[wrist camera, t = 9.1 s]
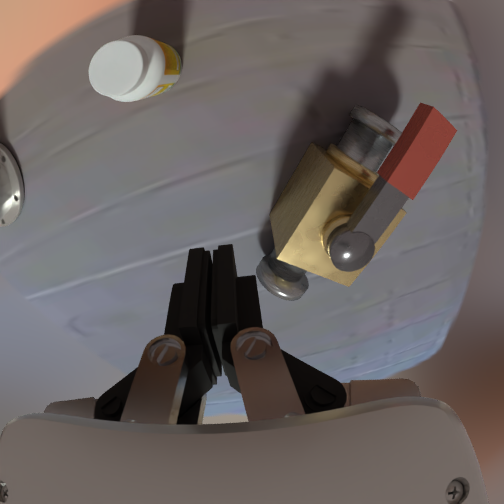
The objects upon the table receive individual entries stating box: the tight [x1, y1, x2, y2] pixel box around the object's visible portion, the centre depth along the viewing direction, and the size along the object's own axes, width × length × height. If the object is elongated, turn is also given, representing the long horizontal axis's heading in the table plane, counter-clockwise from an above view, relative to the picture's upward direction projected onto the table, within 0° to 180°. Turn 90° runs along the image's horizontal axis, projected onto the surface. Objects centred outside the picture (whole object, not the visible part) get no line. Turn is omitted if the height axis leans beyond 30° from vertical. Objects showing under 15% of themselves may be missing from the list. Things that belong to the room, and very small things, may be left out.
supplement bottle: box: [89, 35, 182, 102], centre depth 18 cm, size 5×5×10 cm
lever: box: [326, 103, 457, 272], centre depth 19 cm, size 14×4×2 cm, turn 154°
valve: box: [256, 105, 406, 301], centre depth 26 cm, size 20×8×9 cm, turn 154°
